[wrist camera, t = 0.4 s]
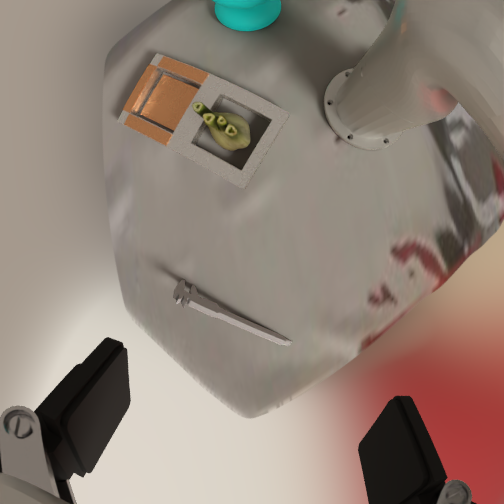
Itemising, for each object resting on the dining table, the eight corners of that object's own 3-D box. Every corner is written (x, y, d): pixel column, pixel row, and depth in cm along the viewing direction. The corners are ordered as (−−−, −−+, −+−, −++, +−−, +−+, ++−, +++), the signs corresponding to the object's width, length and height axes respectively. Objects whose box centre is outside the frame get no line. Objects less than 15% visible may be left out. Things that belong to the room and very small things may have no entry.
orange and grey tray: (162, 58, 35) (156, 52, 32) (289, 116, 36) (290, 112, 34) (124, 123, 38) (116, 121, 36) (245, 188, 40) (243, 189, 37)
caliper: (180, 283, 45) (167, 299, 39) (183, 277, 44) (169, 293, 38) (288, 344, 46) (289, 367, 40) (292, 340, 46) (293, 362, 40)
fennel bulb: (209, 123, 38) (183, 105, 26) (240, 108, 37) (226, 83, 25) (226, 158, 39) (205, 152, 27) (258, 144, 38) (250, 131, 26)
